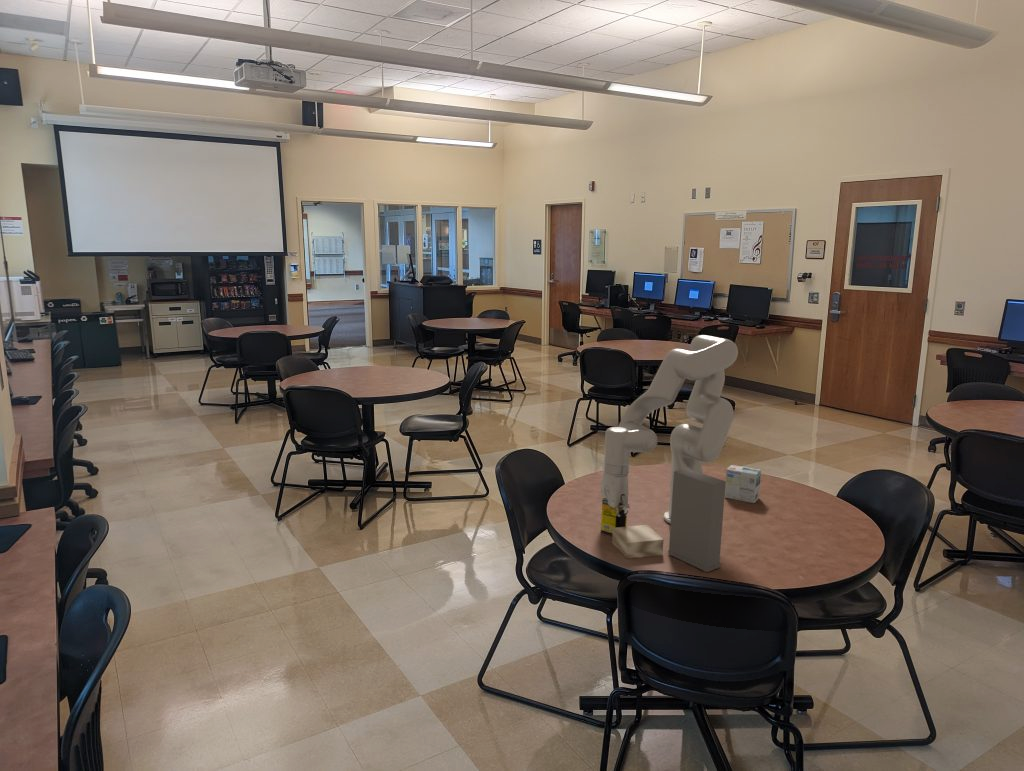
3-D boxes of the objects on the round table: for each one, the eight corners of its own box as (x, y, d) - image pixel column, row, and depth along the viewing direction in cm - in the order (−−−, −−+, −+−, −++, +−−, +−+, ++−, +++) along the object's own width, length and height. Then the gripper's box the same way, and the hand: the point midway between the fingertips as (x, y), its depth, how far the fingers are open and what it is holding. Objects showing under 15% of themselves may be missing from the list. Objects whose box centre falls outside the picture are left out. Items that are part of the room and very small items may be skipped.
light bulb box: (759, 498, 244) (762, 469, 242) (754, 504, 238) (757, 474, 236) (728, 492, 250) (731, 463, 248) (723, 497, 244) (725, 468, 242)
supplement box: (617, 537, 209) (619, 503, 207) (600, 532, 213) (601, 498, 211) (626, 531, 214) (628, 497, 212) (609, 526, 217) (611, 493, 215)
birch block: (646, 540, 208) (646, 524, 207) (662, 555, 198) (663, 539, 197) (611, 543, 205) (612, 527, 204) (626, 559, 195) (627, 543, 194)
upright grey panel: (721, 567, 190) (728, 480, 185) (706, 573, 187) (713, 485, 182) (682, 549, 201) (687, 467, 196) (668, 554, 198) (673, 471, 193)
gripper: (592, 460, 216) (590, 513, 220) (618, 478, 200) (615, 534, 203) (614, 458, 219) (612, 511, 222) (641, 475, 202) (638, 531, 206)
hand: (613, 522), depth 213 cm, fingers closed on supplement box, 8 cm apart
